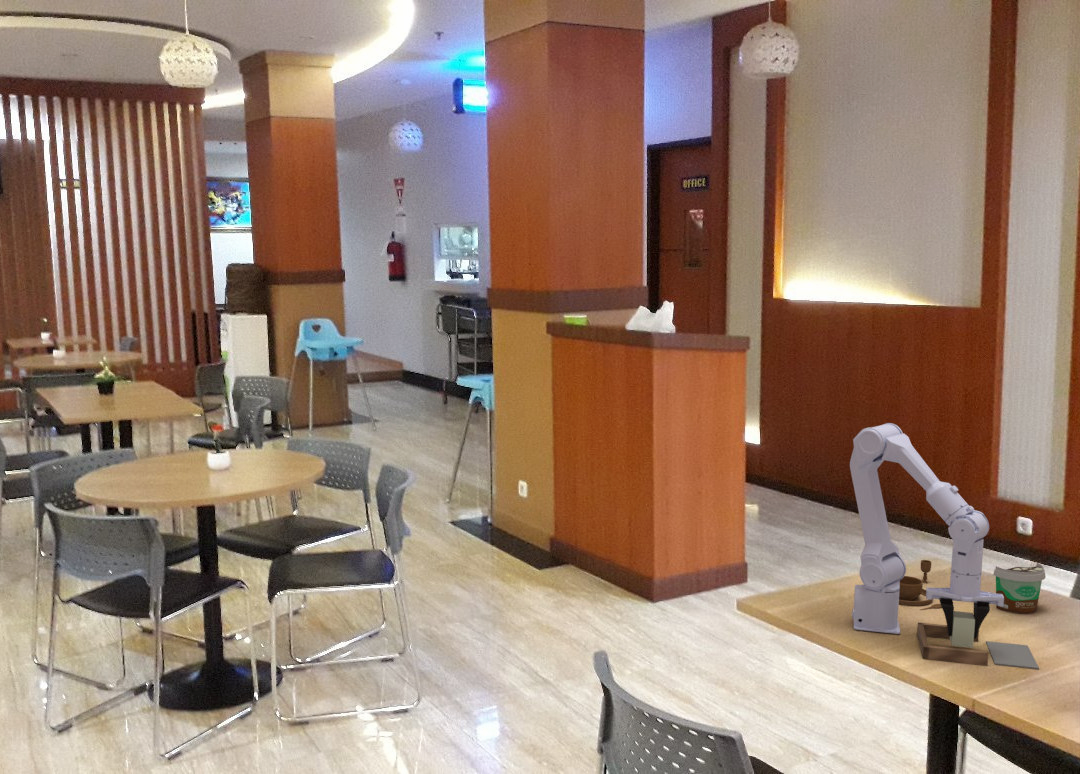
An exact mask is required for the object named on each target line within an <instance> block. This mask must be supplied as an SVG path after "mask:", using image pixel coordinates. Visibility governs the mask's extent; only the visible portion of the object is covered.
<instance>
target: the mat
mask: <svg viewBox="0 0 1080 774" xmlns="http://www.w3.org/2000/svg"><path fill="white" fill-rule="evenodd" d="M985 643H986V646H987V649H988V651H989V654H990V656H991V658H992V661H993V664H994V666H995V665H996V666H997V665H998V666H1002V667H1003V666H1006V667H1015V668H1022V669H1033V670H1040V667H1039V665H1038V663H1037V661H1036V659H1035V657H1034V654H1033V653H1032V651H1031V649H1030V647H1029V645H1028V644H1017V643H1010V642H1009V643H1008V642H1000V641H999V642H998V641H989V640H985Z"/></svg>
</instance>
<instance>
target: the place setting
mask: <svg viewBox="0 0 1080 774" xmlns="http://www.w3.org/2000/svg"><path fill="white" fill-rule="evenodd" d="M931 569H932V561H931V560H929V559H922V560H921V561H920V571H921V572H922V573H923V577H922V579H920V578H918V577H914V576H911V575H910V576H909V575H905V576H904V577H903V578H902V579H901V580H900V591H899V605H901V606H906V605H907V606H908V607H922V606H926V605H930V604H931V603H932V601H934V599H932V600H930V599H924V600H918V601H917V600H915V599H916V598H919V597H920V596H923V597H925V596H926V589H924V588H923V585H924V584H927V583H928V582H927V581H928V573H930V572H931ZM914 600H915V601H914ZM929 609H936V610H937V609H942V606H941V604H940V603H934V604H932V605H931V606H928V607H924V608H921V609H919V611H925V610H929Z"/></svg>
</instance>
